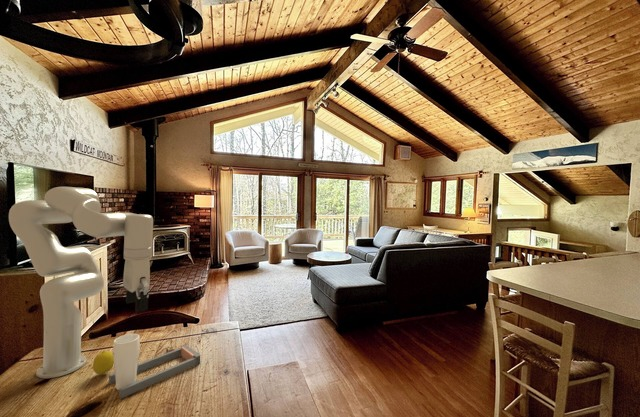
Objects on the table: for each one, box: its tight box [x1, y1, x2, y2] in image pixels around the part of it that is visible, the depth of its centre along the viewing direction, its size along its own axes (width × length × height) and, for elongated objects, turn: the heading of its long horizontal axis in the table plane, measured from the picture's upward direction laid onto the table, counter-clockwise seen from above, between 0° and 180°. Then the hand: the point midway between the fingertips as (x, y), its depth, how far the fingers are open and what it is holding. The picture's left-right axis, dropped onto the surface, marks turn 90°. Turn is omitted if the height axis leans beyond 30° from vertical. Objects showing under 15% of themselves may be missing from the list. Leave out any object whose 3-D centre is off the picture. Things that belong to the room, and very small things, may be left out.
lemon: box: [92, 350, 114, 376], centre depth 91 cm, size 6×6×8 cm
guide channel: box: [108, 344, 201, 399], centre depth 93 cm, size 11×24×3 cm, turn 141°
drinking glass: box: [112, 333, 141, 391], centre depth 86 cm, size 7×7×15 cm
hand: (136, 306), depth 87 cm, fingers open, 9 cm apart
